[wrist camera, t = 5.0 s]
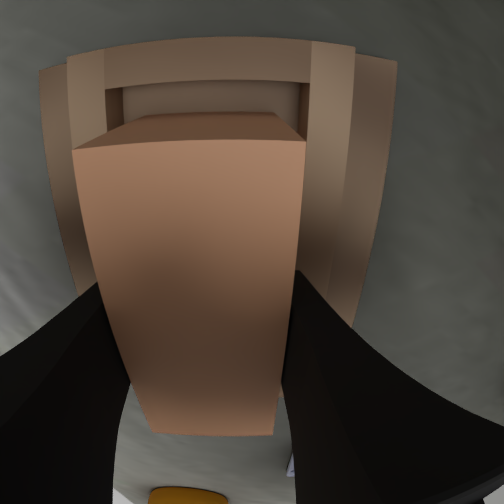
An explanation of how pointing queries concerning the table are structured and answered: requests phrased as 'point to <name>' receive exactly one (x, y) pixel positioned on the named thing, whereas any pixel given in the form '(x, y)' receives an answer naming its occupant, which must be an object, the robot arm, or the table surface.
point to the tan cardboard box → (197, 261)
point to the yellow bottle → (185, 496)
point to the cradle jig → (241, 100)
